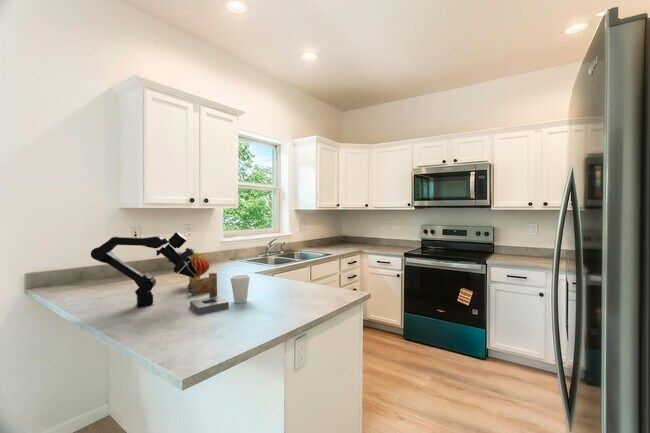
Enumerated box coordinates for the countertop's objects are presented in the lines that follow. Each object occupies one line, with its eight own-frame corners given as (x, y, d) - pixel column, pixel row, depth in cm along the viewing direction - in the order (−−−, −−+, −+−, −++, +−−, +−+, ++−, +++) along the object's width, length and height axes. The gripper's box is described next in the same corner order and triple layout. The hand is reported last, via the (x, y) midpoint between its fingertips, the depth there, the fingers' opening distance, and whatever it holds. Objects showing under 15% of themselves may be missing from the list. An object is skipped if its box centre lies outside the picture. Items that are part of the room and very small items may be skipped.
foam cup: (244, 304, 157) (244, 278, 156) (227, 303, 159) (227, 278, 158) (252, 299, 166) (252, 274, 166) (236, 298, 168) (236, 274, 168)
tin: (189, 296, 172) (189, 281, 172) (186, 295, 174) (186, 280, 174) (214, 290, 184) (213, 276, 184) (211, 289, 186) (210, 275, 186)
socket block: (198, 314, 143) (198, 307, 143) (190, 306, 154) (189, 300, 154) (228, 308, 151) (228, 301, 151) (218, 301, 162) (218, 295, 162)
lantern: (215, 284, 198) (214, 237, 197) (191, 291, 184) (189, 239, 183) (198, 281, 207) (197, 236, 206) (173, 287, 193) (172, 238, 192)
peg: (210, 301, 163) (210, 274, 162) (208, 299, 166) (207, 273, 166) (218, 299, 165) (217, 273, 165) (215, 298, 168) (215, 272, 168)
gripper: (180, 245, 152) (204, 266, 155) (187, 241, 170) (209, 260, 173) (162, 262, 151) (188, 283, 154) (171, 256, 169) (194, 275, 172)
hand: (195, 275), depth 163 cm, fingers open, 9 cm apart
